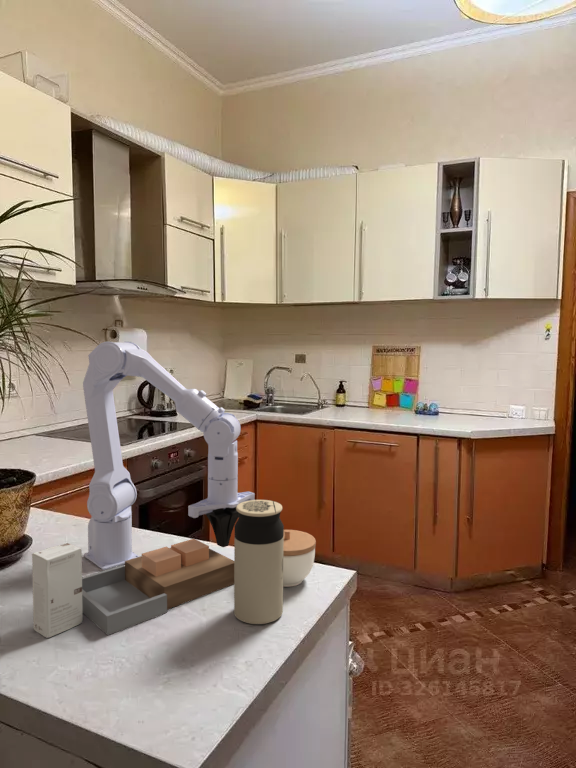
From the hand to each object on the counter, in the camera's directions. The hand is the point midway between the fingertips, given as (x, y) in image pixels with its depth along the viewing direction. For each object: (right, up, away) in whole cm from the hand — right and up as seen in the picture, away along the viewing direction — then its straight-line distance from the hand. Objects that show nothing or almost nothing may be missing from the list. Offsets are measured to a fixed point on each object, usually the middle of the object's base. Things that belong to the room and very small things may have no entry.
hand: (222, 545), depth 105 cm
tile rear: (-5, -1, -5) cm, 8 cm away
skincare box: (-23, -6, -21) cm, 32 cm away
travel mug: (+8, -6, -17) cm, 20 cm away
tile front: (-10, -1, -9) cm, 14 cm away
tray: (-16, -6, -15) cm, 22 cm away
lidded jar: (+13, -5, -4) cm, 14 cm away
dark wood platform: (-7, -5, -6) cm, 11 cm away
